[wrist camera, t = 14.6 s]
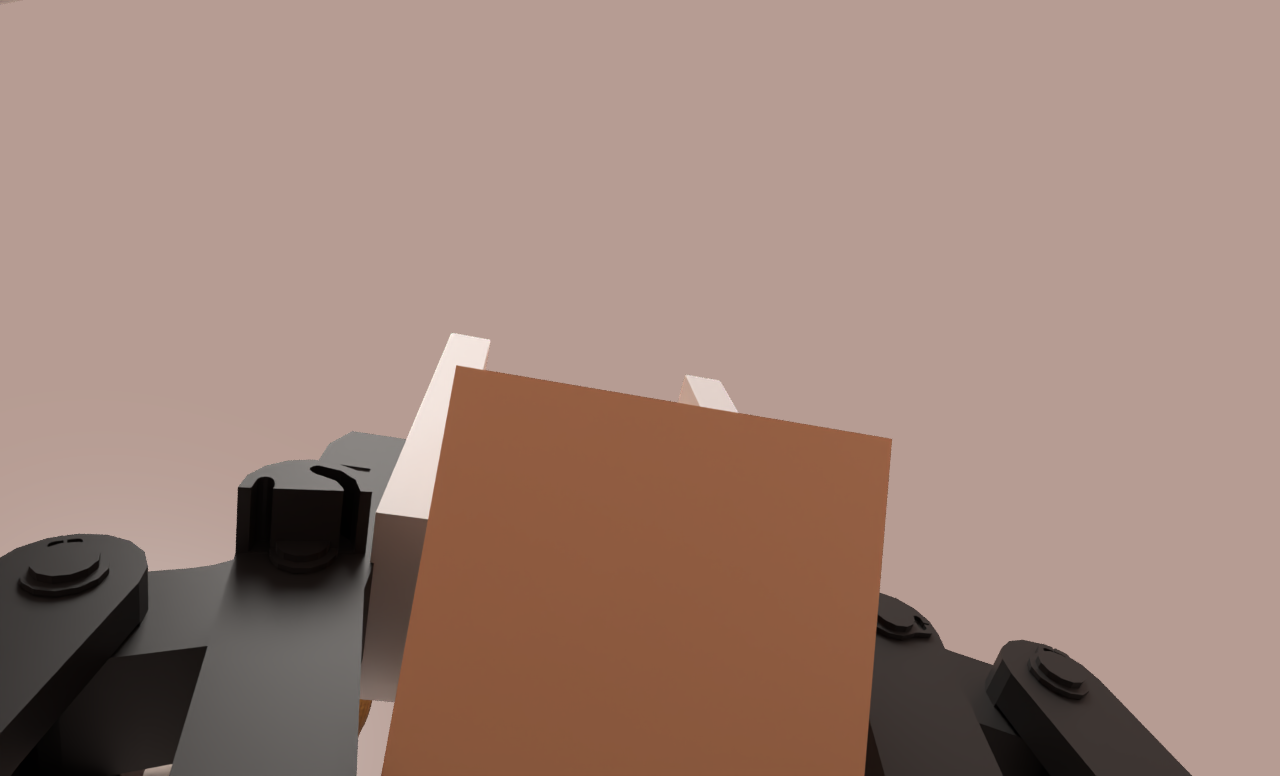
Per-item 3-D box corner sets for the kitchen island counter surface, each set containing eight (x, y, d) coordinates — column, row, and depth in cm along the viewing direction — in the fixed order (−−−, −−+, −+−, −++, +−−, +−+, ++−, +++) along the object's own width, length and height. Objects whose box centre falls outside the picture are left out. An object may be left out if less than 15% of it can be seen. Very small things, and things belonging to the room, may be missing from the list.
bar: (853, 907, 6) (892, 428, 7) (361, 889, 5) (458, 354, 6) (561, 573, 29) (577, 473, 30) (461, 561, 29) (479, 458, 29)
